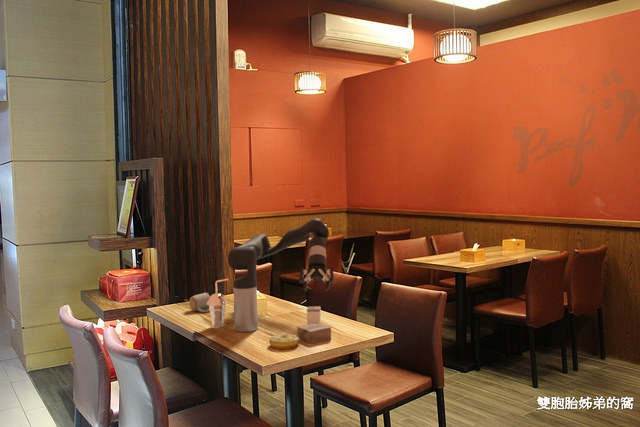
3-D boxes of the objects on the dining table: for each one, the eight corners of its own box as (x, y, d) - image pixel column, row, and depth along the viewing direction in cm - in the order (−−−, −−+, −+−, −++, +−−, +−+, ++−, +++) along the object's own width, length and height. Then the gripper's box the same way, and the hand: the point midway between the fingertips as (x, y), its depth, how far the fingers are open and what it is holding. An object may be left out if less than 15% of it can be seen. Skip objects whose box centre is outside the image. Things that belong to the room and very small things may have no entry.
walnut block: (297, 338, 216) (297, 326, 216) (317, 334, 221) (316, 322, 221) (311, 343, 209) (310, 331, 208) (331, 339, 214) (330, 327, 214)
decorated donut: (303, 343, 211) (303, 333, 211) (291, 351, 201) (291, 340, 201) (277, 340, 215) (277, 330, 214) (264, 348, 205) (264, 338, 205)
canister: (308, 328, 230) (308, 306, 229) (321, 328, 230) (320, 306, 229) (307, 332, 225) (306, 309, 224) (320, 332, 225) (319, 309, 224)
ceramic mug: (188, 310, 268) (187, 294, 267) (204, 307, 273) (203, 291, 272) (199, 314, 259) (198, 297, 259) (215, 311, 265) (215, 295, 264)
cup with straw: (217, 323, 242) (215, 276, 241) (233, 325, 237) (232, 277, 236) (203, 328, 235) (201, 279, 234) (220, 330, 230) (218, 281, 229)
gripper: (334, 263, 250) (333, 295, 240) (301, 263, 251) (299, 295, 240) (333, 253, 244) (333, 285, 234) (300, 253, 245) (298, 285, 235)
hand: (316, 290), depth 237 cm, fingers open, 8 cm apart
